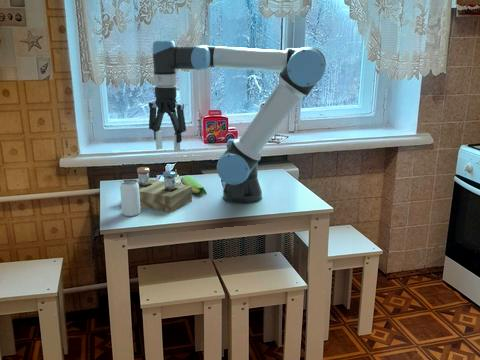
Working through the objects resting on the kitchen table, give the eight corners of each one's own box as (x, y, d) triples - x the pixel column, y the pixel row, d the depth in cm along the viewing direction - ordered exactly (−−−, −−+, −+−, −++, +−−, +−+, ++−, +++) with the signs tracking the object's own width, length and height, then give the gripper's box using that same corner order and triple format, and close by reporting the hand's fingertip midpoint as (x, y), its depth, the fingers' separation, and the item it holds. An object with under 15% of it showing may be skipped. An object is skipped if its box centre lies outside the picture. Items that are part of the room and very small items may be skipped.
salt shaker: (178, 192, 190) (178, 171, 188) (171, 196, 186) (170, 174, 184) (168, 191, 192) (167, 170, 190) (161, 194, 188) (160, 173, 186)
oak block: (192, 201, 194) (191, 186, 193) (171, 212, 182) (170, 196, 181) (145, 192, 204) (145, 178, 202) (123, 203, 192) (121, 188, 190)
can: (139, 216, 179) (137, 184, 175) (121, 217, 178) (118, 184, 175) (141, 210, 185) (139, 178, 182) (123, 210, 185) (121, 179, 181)
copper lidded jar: (152, 188, 196) (151, 167, 193) (145, 191, 192) (144, 170, 189) (143, 186, 198) (142, 166, 195) (135, 190, 194) (134, 169, 191)
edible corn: (190, 173, 215) (181, 172, 213) (209, 188, 198) (199, 186, 196) (187, 185, 216) (178, 183, 214) (206, 200, 199) (195, 199, 197)
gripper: (135, 85, 179) (139, 149, 186) (183, 88, 170) (185, 155, 177) (148, 83, 185) (152, 145, 192) (195, 86, 177) (197, 150, 183)
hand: (168, 149), depth 185 cm, fingers open, 7 cm apart
